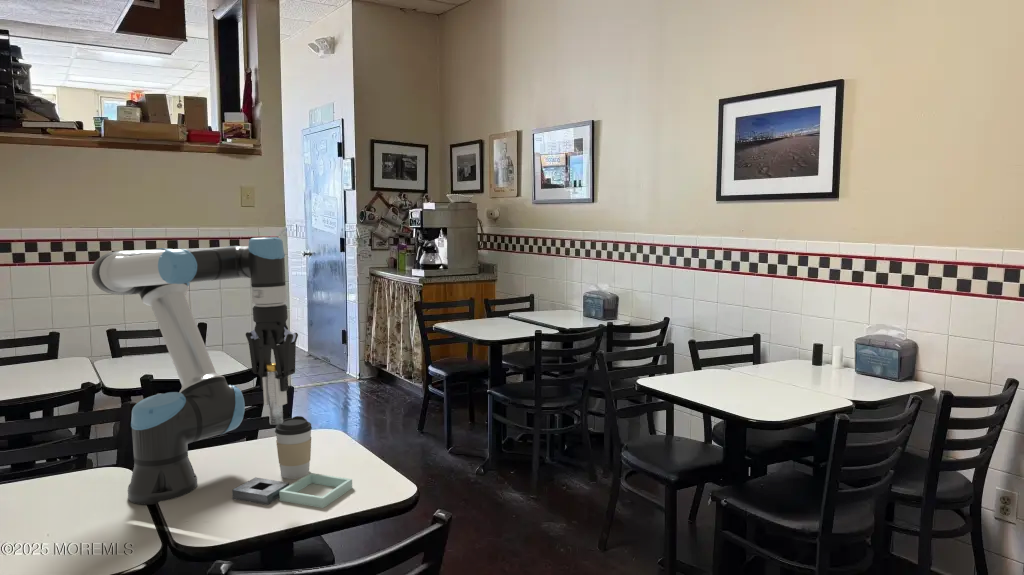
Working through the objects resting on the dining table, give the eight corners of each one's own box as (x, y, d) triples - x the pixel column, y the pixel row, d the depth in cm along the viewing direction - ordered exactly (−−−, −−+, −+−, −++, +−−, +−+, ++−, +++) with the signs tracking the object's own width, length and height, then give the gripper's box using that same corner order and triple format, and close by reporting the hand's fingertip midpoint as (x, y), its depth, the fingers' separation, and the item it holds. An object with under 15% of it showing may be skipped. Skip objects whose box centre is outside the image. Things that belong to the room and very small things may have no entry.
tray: (279, 503, 160) (279, 491, 160) (311, 484, 172) (310, 472, 171) (323, 511, 156) (323, 498, 156) (352, 490, 168) (352, 479, 167)
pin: (267, 424, 160) (263, 365, 158) (275, 420, 163) (272, 362, 161) (277, 425, 159) (273, 365, 157) (286, 421, 161) (282, 363, 160)
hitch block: (232, 502, 161) (232, 489, 161) (256, 489, 169) (255, 477, 168) (267, 508, 158) (267, 495, 158) (289, 494, 165) (289, 482, 165)
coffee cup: (302, 484, 171) (300, 426, 170) (269, 481, 173) (267, 424, 172) (319, 471, 180) (317, 415, 178) (288, 468, 182) (286, 413, 180)
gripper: (230, 305, 157) (237, 405, 160) (287, 307, 152) (292, 411, 154) (253, 301, 164) (259, 397, 167) (308, 303, 158) (314, 402, 161)
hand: (275, 403), depth 160 cm, fingers closed on pin, 3 cm apart
